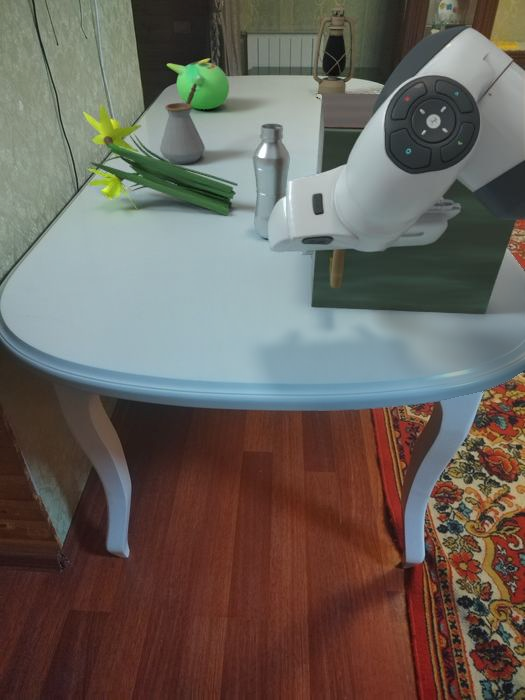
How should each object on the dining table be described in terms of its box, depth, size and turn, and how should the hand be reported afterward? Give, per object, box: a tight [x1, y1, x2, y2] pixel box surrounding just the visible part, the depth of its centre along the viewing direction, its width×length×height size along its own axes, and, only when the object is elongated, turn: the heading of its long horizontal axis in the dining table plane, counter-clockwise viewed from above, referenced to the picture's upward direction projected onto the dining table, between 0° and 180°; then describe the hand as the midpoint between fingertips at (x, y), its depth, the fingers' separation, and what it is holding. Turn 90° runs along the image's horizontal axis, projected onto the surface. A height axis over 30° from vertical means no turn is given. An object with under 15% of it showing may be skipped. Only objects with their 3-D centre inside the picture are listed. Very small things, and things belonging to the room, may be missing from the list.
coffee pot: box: [159, 83, 206, 165], centre depth 131 cm, size 21×12×15 cm, turn 169°
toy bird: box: [166, 58, 230, 111], centre depth 167 cm, size 18×17×15 cm
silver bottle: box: [252, 123, 291, 240], centre depth 92 cm, size 6×7×20 cm
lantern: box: [312, 0, 359, 95], centre depth 176 cm, size 14×12×30 cm
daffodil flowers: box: [82, 103, 239, 217], centre depth 105 cm, size 17×15×35 cm
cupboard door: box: [310, 128, 517, 315], centre depth 68 cm, size 7×26×26 cm, turn 86°
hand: (341, 247), depth 66 cm, fingers open, 8 cm apart
